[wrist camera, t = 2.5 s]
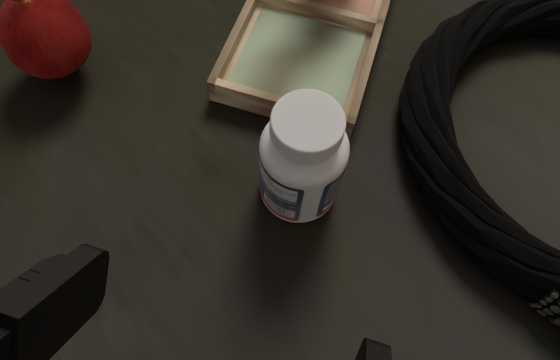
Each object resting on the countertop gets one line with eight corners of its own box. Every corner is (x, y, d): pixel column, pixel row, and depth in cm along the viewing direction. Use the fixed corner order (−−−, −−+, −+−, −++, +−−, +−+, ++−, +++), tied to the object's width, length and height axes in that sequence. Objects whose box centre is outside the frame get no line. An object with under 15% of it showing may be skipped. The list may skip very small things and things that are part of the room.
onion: (17, 61, 34) (-48, -26, 27) (86, 31, 36) (42, -59, 29) (45, 113, 33) (-16, 34, 25) (117, 79, 34) (79, -4, 27)
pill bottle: (324, 150, 32) (345, 71, 24) (343, 216, 30) (374, 153, 22) (253, 163, 31) (250, 85, 23) (267, 231, 29) (269, 171, 21)
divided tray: (400, -36, 41) (407, -57, 39) (349, 140, 33) (354, 124, 31) (287, -63, 42) (288, -86, 40) (209, 100, 34) (206, 82, 32)
